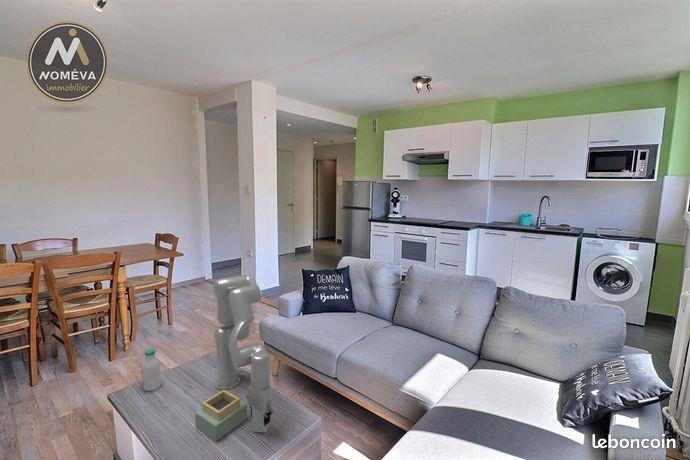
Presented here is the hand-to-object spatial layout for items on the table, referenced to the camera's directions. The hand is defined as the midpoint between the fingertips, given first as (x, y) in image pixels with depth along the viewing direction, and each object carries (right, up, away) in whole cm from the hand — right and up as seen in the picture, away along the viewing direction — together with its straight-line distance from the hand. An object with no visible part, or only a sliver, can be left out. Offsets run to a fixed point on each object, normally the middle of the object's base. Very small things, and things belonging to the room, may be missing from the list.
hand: (260, 419), depth 138 cm
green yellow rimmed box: (-18, -4, +5) cm, 19 cm away
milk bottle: (-63, 0, +28) cm, 69 cm away
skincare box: (0, -5, +1) cm, 5 cm away
